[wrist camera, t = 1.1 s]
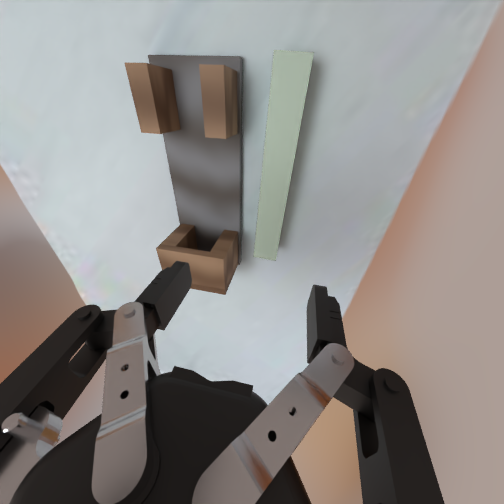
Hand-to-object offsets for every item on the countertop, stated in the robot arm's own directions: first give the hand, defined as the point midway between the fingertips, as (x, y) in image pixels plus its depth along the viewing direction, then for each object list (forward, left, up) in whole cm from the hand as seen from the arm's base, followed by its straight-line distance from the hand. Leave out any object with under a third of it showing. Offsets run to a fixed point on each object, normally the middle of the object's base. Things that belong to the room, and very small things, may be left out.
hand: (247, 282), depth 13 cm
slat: (-3, 0, -16) cm, 16 cm away
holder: (-1, -9, -16) cm, 18 cm away
